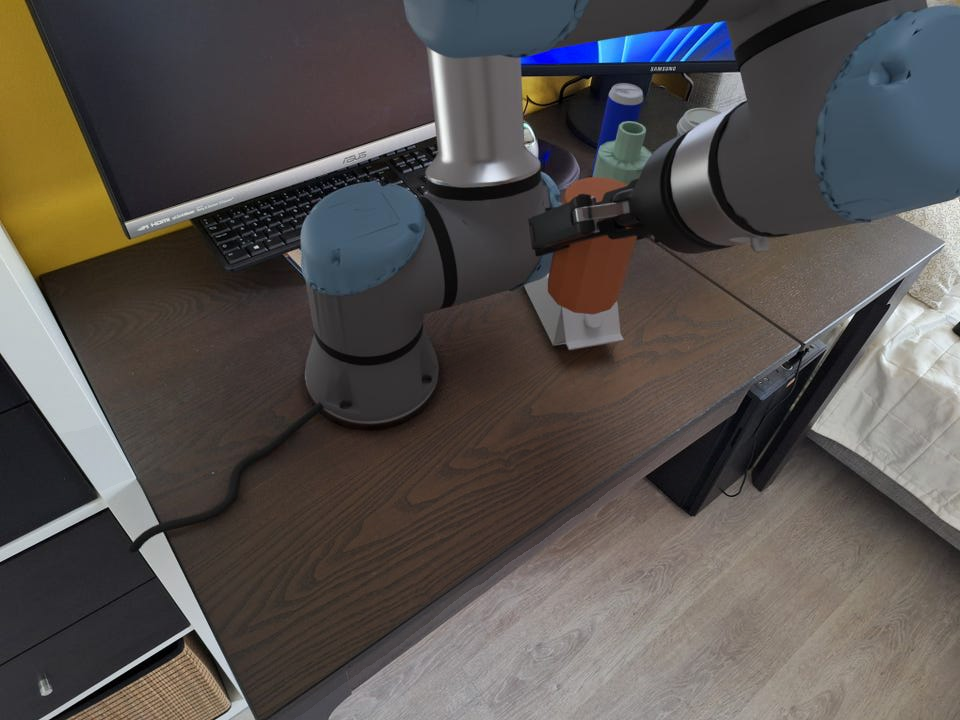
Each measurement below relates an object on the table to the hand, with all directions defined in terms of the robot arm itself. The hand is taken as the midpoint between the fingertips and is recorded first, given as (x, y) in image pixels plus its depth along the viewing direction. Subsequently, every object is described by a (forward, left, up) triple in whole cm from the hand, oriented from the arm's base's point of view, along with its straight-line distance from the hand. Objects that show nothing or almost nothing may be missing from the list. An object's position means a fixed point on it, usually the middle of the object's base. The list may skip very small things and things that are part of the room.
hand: (575, 236), depth 62 cm
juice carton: (+11, +20, -19) cm, 30 cm away
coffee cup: (+43, +28, -23) cm, 57 cm away
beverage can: (+32, +35, -23) cm, 53 cm away
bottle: (+25, +24, -22) cm, 42 cm away
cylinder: (-1, -3, -3) cm, 5 cm away
